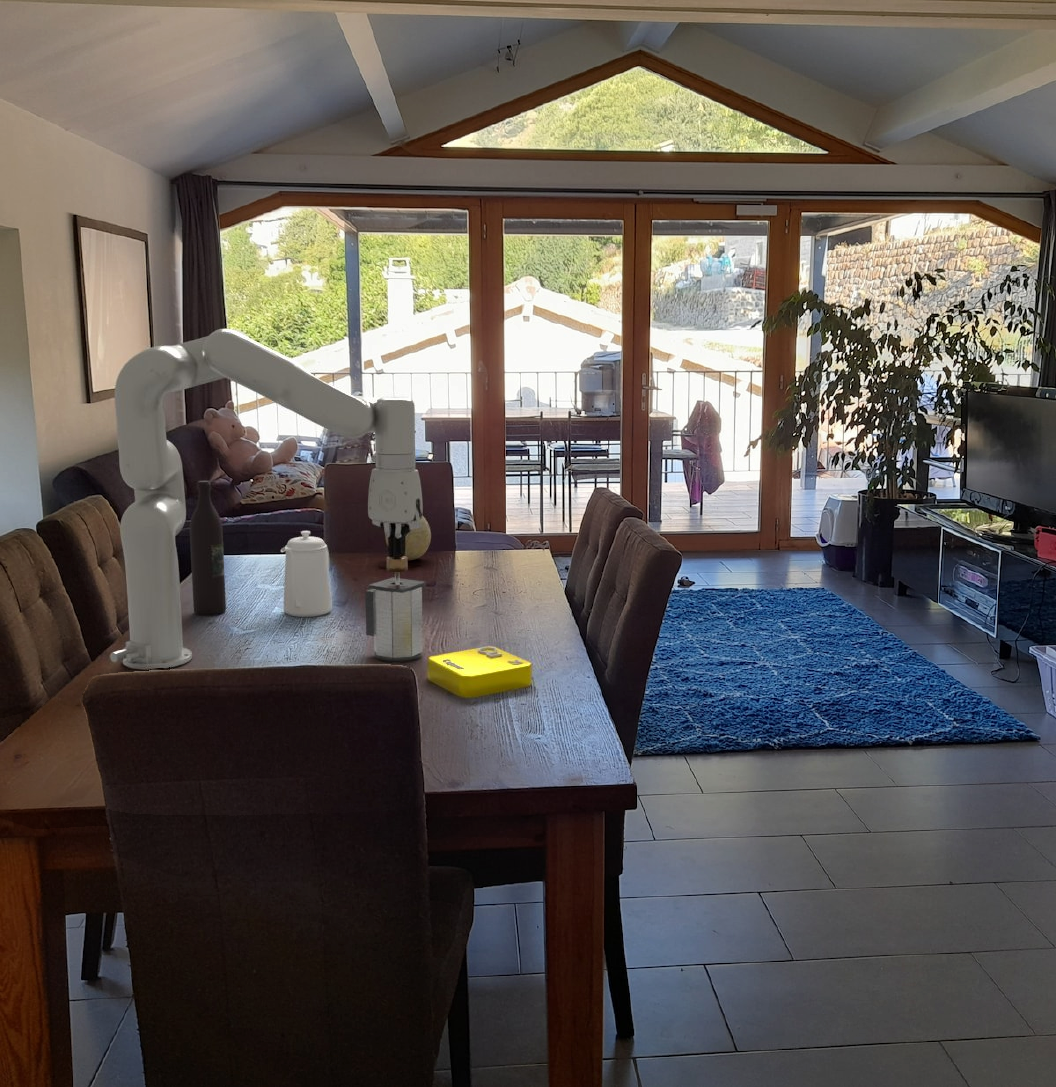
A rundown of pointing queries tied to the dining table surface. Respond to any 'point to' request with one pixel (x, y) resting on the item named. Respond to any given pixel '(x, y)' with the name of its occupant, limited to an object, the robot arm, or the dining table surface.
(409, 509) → the robot arm
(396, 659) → the grey faceted container
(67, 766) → the dining table surface
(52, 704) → the dining table surface
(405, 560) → the plunger
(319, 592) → the coffeepot
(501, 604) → the dining table surface
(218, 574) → the wine bottle
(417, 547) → the fossilized egg
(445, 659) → the element tile
